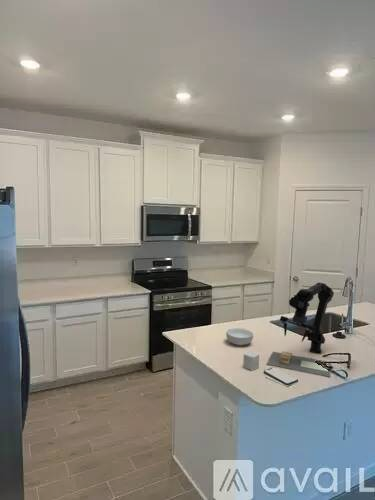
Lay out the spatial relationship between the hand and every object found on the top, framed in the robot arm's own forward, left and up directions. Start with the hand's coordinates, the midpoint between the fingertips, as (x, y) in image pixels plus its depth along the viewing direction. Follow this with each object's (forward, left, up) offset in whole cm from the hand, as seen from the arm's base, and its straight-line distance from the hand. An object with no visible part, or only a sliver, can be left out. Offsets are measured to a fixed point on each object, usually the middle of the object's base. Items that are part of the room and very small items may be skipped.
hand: (293, 339), depth 187 cm
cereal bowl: (-16, -34, -14) cm, 40 cm away
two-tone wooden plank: (-1, -4, -13) cm, 14 cm away
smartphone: (+19, -3, -15) cm, 24 cm away
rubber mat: (-1, +4, -14) cm, 15 cm away
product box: (+15, -19, -14) cm, 28 cm away
